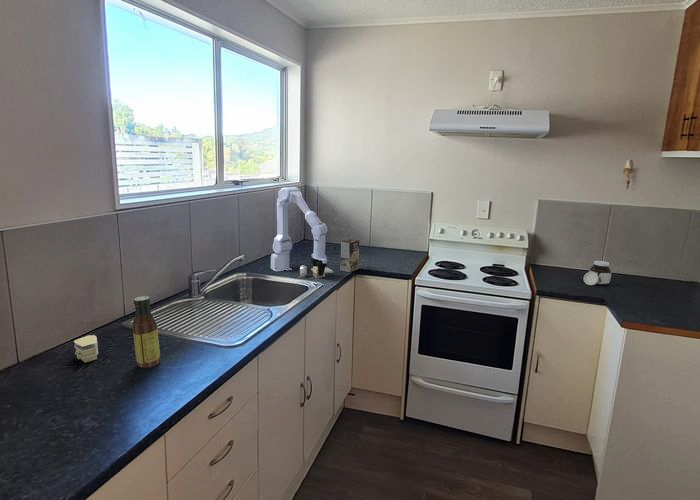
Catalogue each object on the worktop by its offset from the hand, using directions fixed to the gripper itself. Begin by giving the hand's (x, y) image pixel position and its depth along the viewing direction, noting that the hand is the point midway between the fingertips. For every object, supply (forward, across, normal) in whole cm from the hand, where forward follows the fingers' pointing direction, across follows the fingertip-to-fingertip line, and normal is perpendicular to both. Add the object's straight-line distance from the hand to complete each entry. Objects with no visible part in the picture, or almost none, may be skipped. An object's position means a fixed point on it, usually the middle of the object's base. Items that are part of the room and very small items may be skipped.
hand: (318, 274), depth 219 cm
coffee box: (+2, +6, -21) cm, 22 cm away
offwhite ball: (0, +11, +4) cm, 12 cm away
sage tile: (+1, +9, -6) cm, 11 cm away
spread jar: (+2, -64, -128) cm, 143 cm away
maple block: (+1, 0, 0) cm, 1 cm away
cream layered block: (+2, -54, +98) cm, 112 cm away
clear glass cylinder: (+2, +4, +7) cm, 8 cm away
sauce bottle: (+2, -66, +83) cm, 106 cm away
